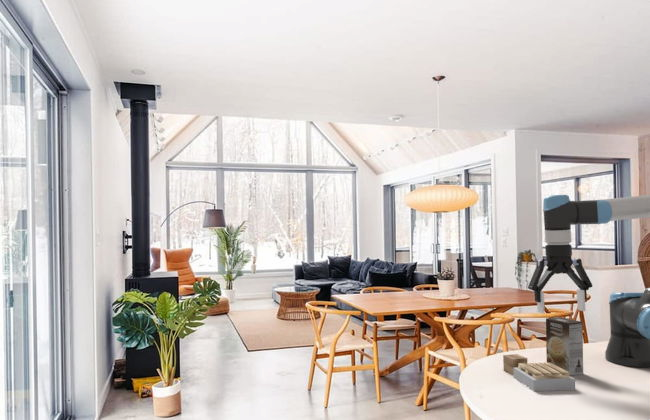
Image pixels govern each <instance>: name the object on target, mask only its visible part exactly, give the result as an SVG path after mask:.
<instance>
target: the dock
mask: <svg viewBox="0 0 650 420" xmlns="http://www.w3.org/2000/svg"><path fill="white" fill-rule="evenodd" d="M513 373H514V376H513V379H515V380H516V379H517V380H516V381H518V382H519V381H520V382H519V383H521V384H522V383H523V384H522V385H524V386H525V385H526V388H528V387H529V389H530V390H531V391H533V392H545V391H546V392H547V391H548V392H549V391H574V390H576V378H574V377H572V376H570V378H548V379H534V378H533V377H532V374H526V373H525V370H520V369H518V367H516V368H513Z"/></svg>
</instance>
